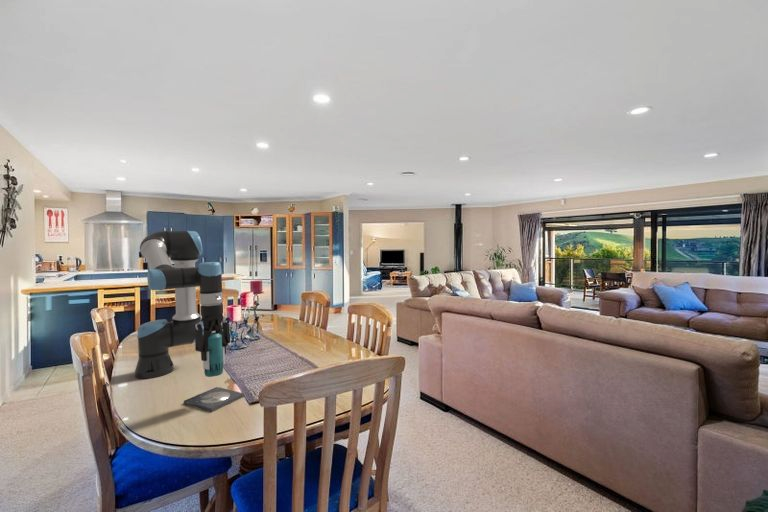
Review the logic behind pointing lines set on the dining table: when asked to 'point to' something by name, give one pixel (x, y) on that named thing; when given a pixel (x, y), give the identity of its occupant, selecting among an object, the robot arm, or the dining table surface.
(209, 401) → the motor plate
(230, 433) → the dining table surface
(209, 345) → the beverage bottle
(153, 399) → the dining table surface
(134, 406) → the dining table surface
